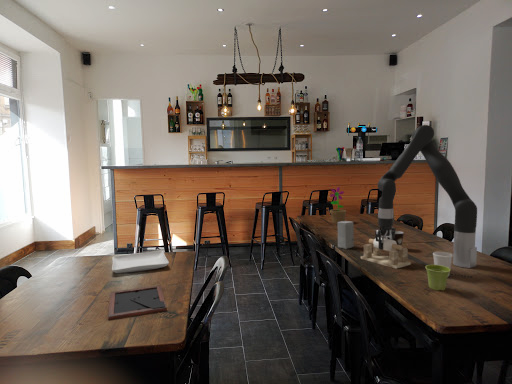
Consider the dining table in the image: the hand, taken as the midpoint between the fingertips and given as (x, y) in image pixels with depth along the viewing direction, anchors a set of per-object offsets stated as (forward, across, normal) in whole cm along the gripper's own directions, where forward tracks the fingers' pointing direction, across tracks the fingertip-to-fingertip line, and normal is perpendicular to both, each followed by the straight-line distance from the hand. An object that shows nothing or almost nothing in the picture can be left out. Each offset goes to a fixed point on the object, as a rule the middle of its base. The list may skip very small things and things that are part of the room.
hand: (385, 248), depth 187 cm
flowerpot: (+7, +64, +95) cm, 115 cm away
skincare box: (+7, +6, +33) cm, 35 cm away
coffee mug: (+7, +26, +14) cm, 30 cm away
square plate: (+8, -108, +70) cm, 129 cm away
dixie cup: (+7, +3, -29) cm, 30 cm away
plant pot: (+7, -15, -37) cm, 41 cm away
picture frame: (+8, -123, +21) cm, 125 cm away
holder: (+7, 0, 0) cm, 7 cm away
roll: (+1, 0, 0) cm, 1 cm away
